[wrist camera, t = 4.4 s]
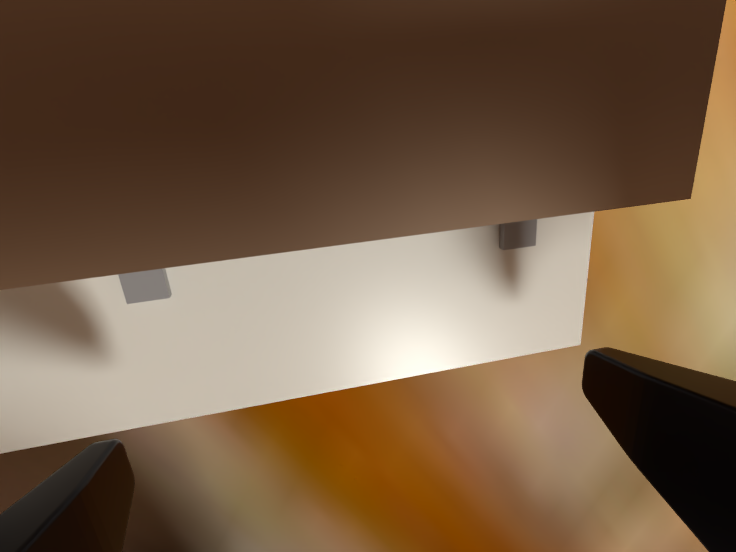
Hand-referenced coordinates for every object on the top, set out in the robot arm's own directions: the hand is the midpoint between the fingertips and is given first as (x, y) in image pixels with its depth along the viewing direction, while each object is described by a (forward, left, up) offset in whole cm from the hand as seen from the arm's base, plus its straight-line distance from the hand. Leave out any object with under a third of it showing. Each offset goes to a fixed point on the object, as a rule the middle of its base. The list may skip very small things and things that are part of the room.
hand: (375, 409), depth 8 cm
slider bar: (+5, 0, -2) cm, 6 cm away
